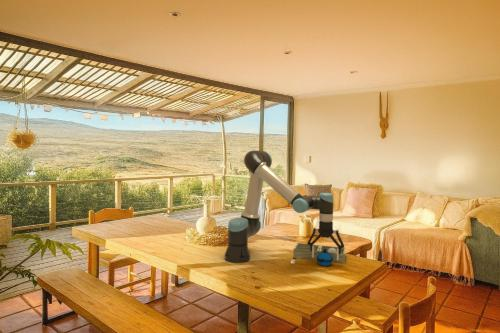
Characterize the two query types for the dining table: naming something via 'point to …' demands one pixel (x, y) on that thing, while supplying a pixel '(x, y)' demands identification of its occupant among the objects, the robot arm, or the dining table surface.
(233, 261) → the robot arm
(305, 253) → the two-compartment wooden tray
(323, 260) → the ornament
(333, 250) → the ball
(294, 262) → the card
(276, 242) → the dining table surface
